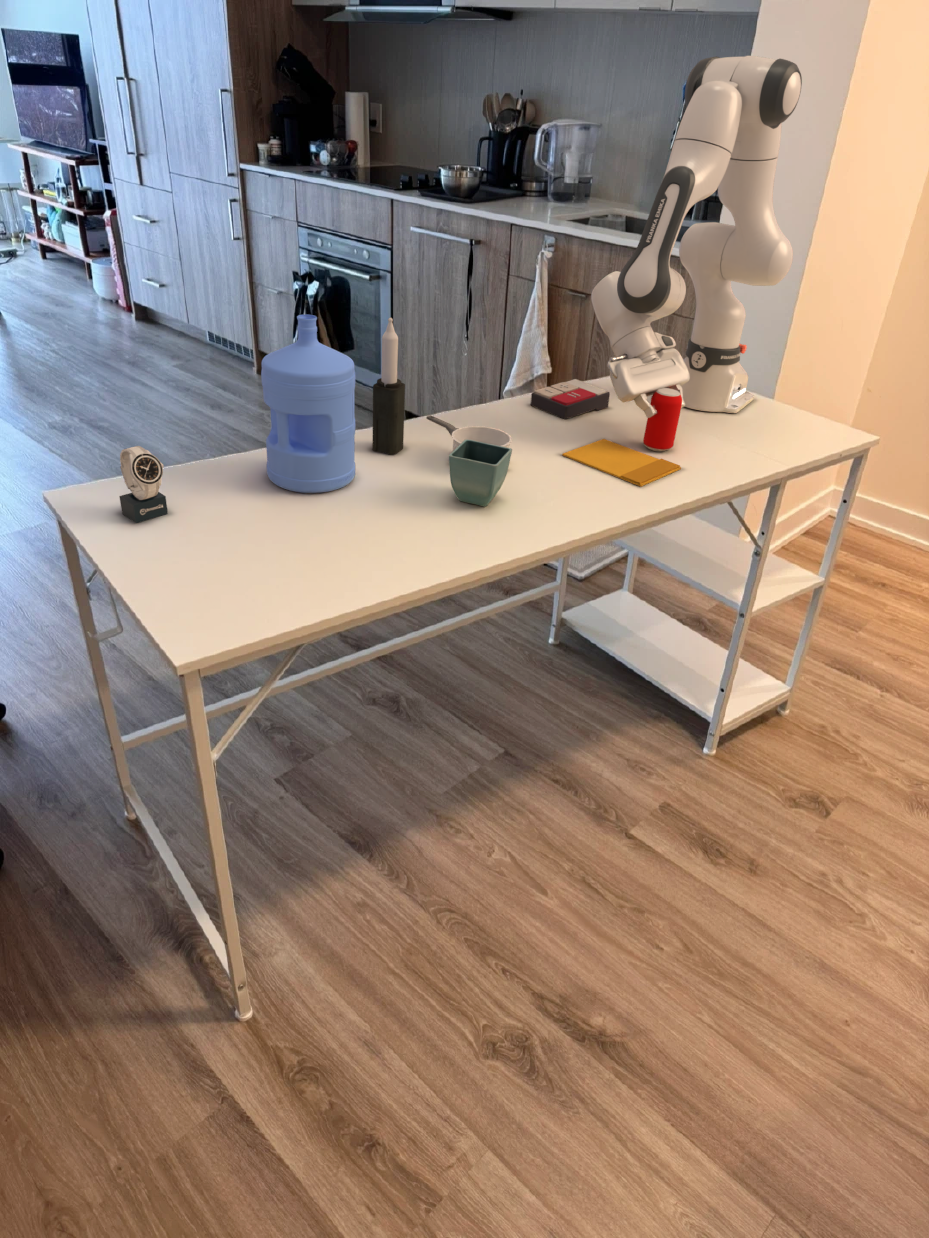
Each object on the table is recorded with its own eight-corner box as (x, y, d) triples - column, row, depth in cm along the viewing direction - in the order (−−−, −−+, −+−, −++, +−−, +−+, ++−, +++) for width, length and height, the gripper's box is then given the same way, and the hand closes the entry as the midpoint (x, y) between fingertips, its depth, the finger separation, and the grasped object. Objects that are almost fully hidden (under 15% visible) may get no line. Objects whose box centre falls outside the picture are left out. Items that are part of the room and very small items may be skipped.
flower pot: (492, 514, 147) (497, 465, 142) (444, 503, 149) (447, 455, 144) (508, 495, 154) (513, 448, 149) (462, 485, 156) (465, 438, 151)
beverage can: (644, 440, 182) (654, 384, 176) (673, 445, 181) (685, 389, 174) (640, 450, 177) (651, 393, 171) (670, 455, 176) (682, 398, 169)
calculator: (530, 389, 194) (575, 376, 203) (529, 408, 197) (573, 393, 205) (566, 403, 188) (611, 389, 196) (564, 422, 190) (608, 407, 199)
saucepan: (447, 436, 177) (448, 409, 174) (521, 466, 166) (524, 439, 163) (406, 448, 169) (407, 421, 166) (481, 481, 158) (484, 452, 155)
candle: (370, 450, 167) (371, 318, 154) (382, 442, 171) (384, 312, 158) (393, 455, 166) (397, 322, 152) (405, 447, 170) (409, 317, 156)
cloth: (603, 440, 181) (604, 437, 180) (680, 469, 170) (681, 466, 170) (561, 455, 172) (562, 452, 172) (640, 486, 161) (641, 483, 161)
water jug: (310, 453, 164) (305, 300, 149) (373, 476, 157) (375, 318, 142) (248, 477, 153) (236, 315, 138) (313, 503, 146) (308, 335, 131)
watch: (142, 527, 134) (132, 461, 128) (116, 510, 139) (106, 445, 133) (174, 517, 138) (166, 453, 132) (148, 501, 142) (139, 437, 136)
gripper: (615, 350, 167) (646, 413, 166) (678, 336, 179) (707, 396, 178) (594, 367, 172) (624, 428, 171) (657, 352, 184) (685, 410, 183)
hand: (667, 412), depth 175 cm, fingers open, 8 cm apart
